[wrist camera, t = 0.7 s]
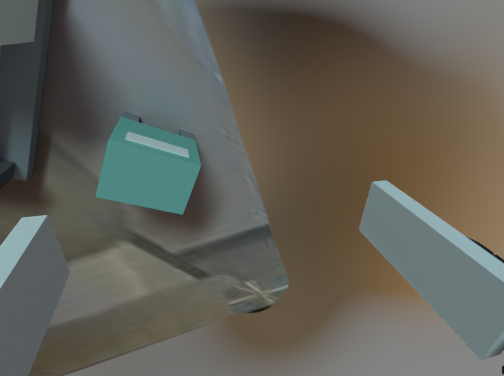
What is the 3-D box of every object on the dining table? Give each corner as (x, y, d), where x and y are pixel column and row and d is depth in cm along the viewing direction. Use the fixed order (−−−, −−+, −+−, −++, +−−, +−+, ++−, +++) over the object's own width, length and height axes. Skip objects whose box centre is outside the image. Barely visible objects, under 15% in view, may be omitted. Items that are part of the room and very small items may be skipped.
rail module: (179, 174, 31) (182, 214, 25) (112, 157, 29) (95, 196, 22) (194, 133, 30) (201, 164, 23) (123, 110, 27) (108, 138, 20)
